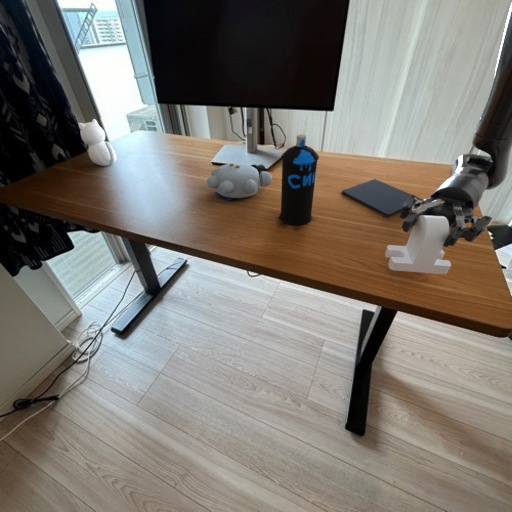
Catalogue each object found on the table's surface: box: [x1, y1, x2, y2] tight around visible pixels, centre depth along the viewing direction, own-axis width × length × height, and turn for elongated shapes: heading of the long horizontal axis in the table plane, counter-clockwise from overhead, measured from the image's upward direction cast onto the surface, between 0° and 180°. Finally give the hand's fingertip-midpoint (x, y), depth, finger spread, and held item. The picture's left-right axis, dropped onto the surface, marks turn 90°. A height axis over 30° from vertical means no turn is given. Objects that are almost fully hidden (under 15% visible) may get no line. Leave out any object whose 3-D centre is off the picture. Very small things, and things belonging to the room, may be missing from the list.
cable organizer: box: [384, 215, 452, 275], centre depth 48 cm, size 5×10×10 cm, turn 80°
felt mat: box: [341, 178, 424, 218], centre depth 76 cm, size 16×14×1 cm
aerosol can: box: [279, 134, 320, 227], centre depth 63 cm, size 8×8×20 cm
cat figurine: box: [77, 118, 118, 167], centre depth 98 cm, size 9×12×15 cm
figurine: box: [206, 162, 273, 202], centre depth 80 cm, size 17×8×20 cm
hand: (426, 234), depth 45 cm, fingers closed on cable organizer, 5 cm apart
